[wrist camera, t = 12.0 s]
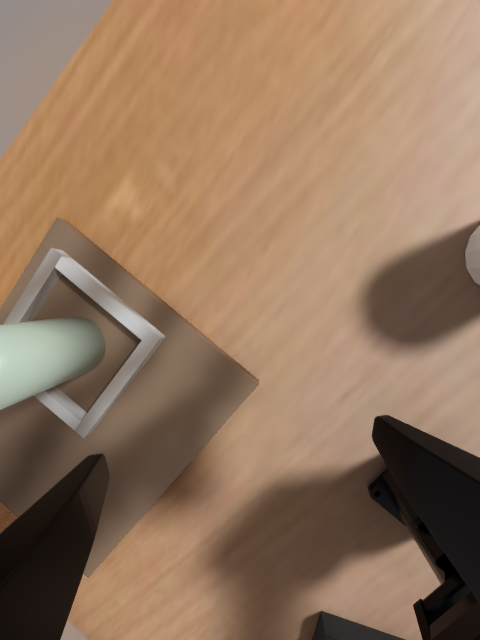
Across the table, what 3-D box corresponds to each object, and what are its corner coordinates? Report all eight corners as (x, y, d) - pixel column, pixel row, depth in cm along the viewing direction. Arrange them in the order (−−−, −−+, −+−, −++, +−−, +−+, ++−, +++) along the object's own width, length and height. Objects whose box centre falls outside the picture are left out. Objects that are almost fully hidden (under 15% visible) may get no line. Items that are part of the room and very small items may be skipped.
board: (259, 380, 19) (257, 390, 17) (95, 565, 23) (79, 591, 21) (67, 221, 20) (45, 213, 18) (-63, 428, 23) (-93, 440, 22)
